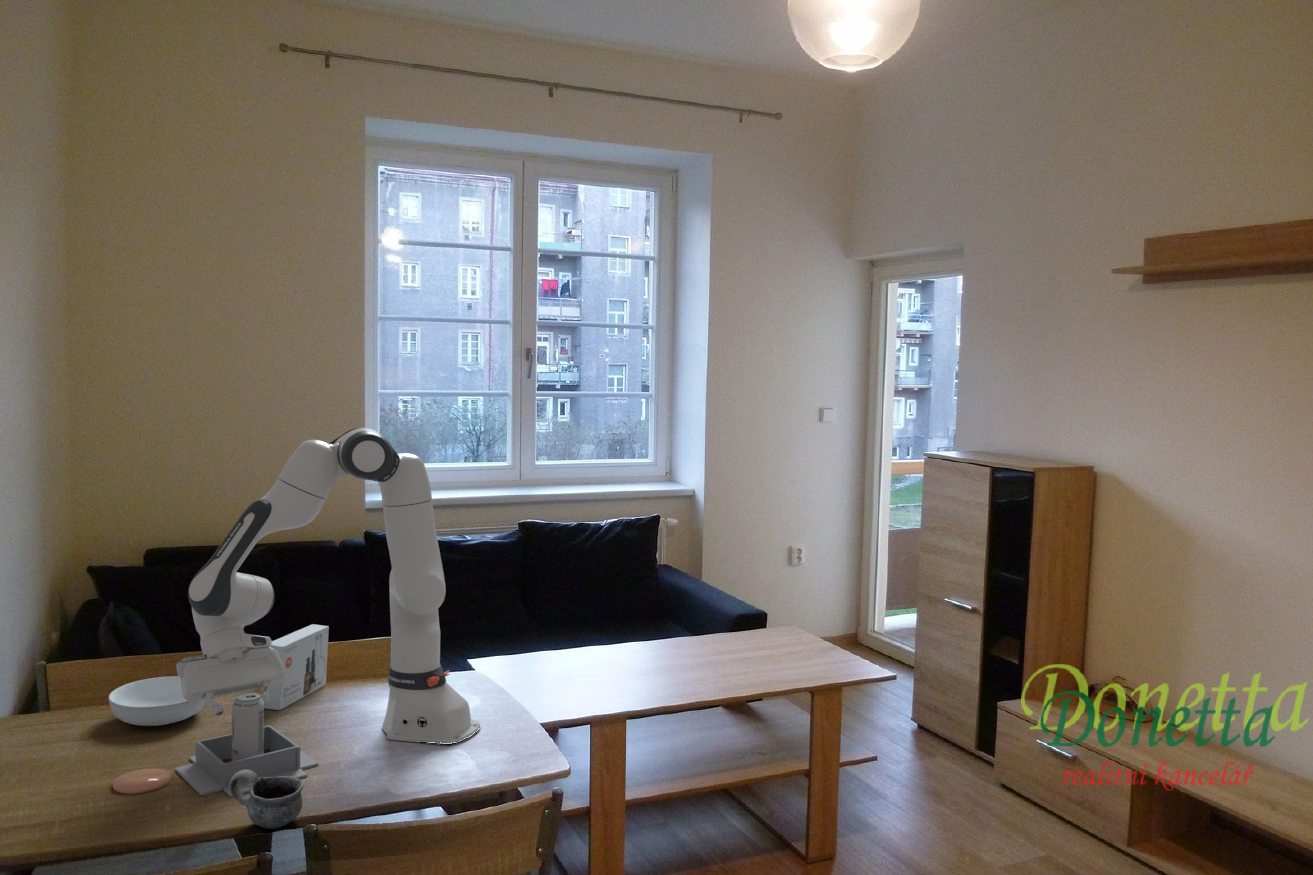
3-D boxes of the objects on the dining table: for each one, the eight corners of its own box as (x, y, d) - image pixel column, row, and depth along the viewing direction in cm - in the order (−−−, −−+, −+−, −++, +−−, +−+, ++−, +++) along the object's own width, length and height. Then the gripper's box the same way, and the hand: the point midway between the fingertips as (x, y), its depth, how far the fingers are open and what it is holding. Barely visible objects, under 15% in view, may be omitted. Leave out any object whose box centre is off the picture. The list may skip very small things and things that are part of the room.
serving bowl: (86, 726, 216) (86, 696, 216) (164, 699, 236) (164, 671, 235) (155, 742, 209) (156, 711, 208) (230, 712, 228) (230, 683, 228)
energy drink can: (232, 763, 199) (233, 692, 198) (263, 760, 201) (264, 690, 200) (230, 775, 193) (231, 702, 192) (263, 772, 195) (263, 699, 194)
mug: (301, 833, 170) (302, 778, 170) (225, 841, 167) (225, 785, 166) (304, 809, 180) (305, 757, 179) (231, 816, 176) (232, 763, 175)
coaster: (182, 777, 191) (182, 773, 191) (139, 797, 182) (139, 793, 182) (144, 769, 195) (144, 765, 195) (100, 788, 185) (100, 784, 185)
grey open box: (281, 738, 213) (281, 716, 213) (326, 771, 197) (327, 747, 196) (168, 764, 198) (168, 740, 197) (208, 803, 181) (208, 777, 180)
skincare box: (281, 711, 230) (282, 646, 229) (261, 709, 231) (262, 644, 230) (328, 684, 251) (329, 624, 250) (309, 682, 252) (310, 623, 251)
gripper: (177, 651, 196) (193, 712, 190) (277, 636, 210) (295, 691, 204) (170, 667, 200) (185, 727, 193) (269, 651, 214) (286, 706, 207)
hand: (242, 709), depth 198 cm, fingers open, 8 cm apart
